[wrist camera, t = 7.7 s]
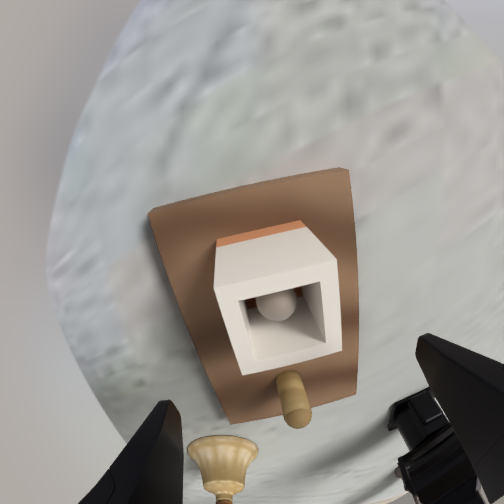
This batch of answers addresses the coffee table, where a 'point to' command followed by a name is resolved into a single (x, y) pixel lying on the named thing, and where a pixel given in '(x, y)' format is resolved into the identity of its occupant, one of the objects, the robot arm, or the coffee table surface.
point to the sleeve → (274, 280)
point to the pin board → (198, 281)
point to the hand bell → (223, 464)
